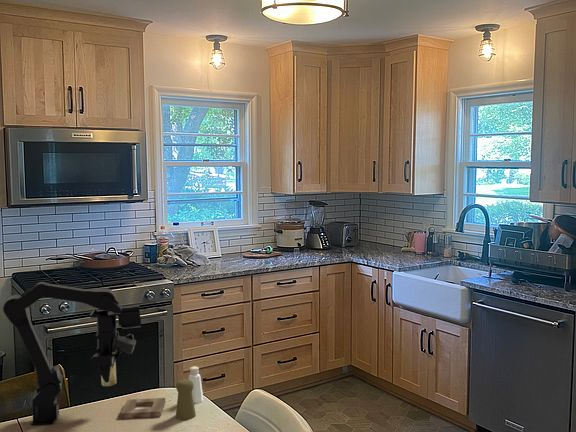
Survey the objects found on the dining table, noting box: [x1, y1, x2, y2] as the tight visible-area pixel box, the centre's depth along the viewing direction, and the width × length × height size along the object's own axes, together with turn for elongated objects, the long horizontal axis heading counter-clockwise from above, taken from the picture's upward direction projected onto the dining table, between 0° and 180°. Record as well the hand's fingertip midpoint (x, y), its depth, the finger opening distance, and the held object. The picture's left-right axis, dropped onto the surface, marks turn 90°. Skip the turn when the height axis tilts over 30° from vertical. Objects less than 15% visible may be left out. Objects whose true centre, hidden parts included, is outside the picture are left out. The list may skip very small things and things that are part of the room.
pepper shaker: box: [175, 378, 197, 421], centre depth 175 cm, size 6×6×11 cm
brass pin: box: [100, 361, 117, 387], centre depth 178 cm, size 4×4×6 cm
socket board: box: [120, 397, 166, 419], centre depth 180 cm, size 12×11×2 cm
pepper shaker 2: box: [188, 365, 204, 405], centre depth 187 cm, size 5×5×11 cm
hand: (108, 379), depth 178 cm, fingers closed on brass pin, 4 cm apart
